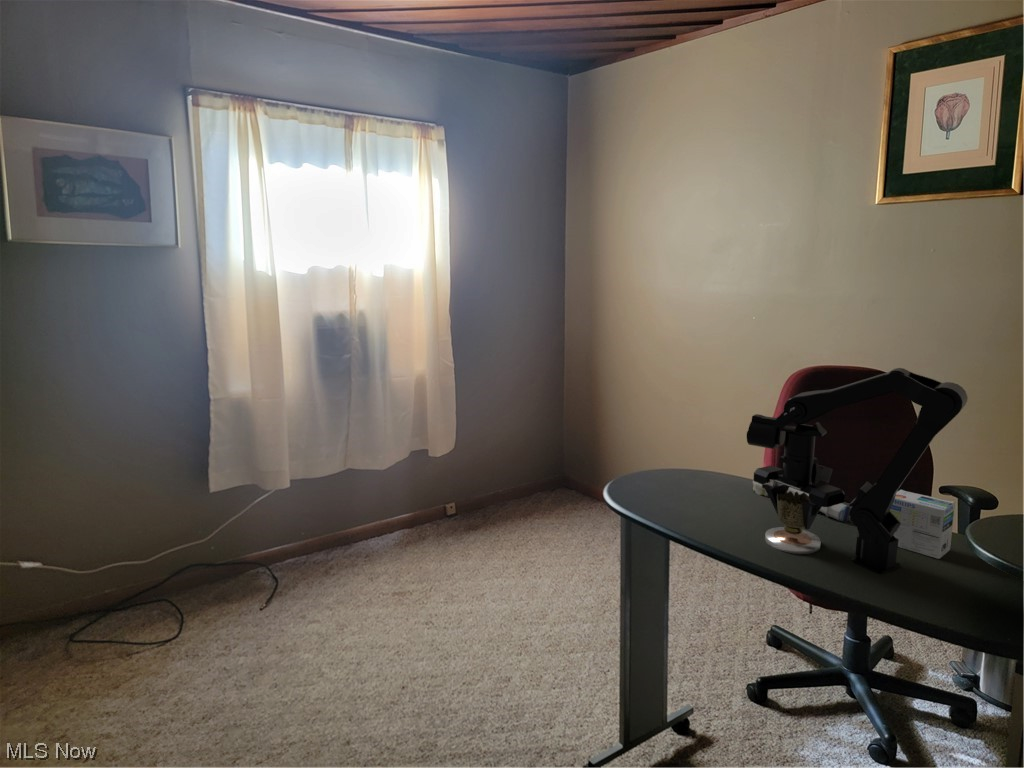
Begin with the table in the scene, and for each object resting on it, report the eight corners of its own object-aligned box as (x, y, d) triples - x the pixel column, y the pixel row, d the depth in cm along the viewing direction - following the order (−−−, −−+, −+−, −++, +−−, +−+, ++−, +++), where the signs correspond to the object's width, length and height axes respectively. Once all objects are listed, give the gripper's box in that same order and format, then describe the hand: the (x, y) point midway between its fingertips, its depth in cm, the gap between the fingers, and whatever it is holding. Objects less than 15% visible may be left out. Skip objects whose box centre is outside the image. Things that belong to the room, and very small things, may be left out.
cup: (769, 524, 146) (771, 490, 144) (803, 525, 146) (806, 490, 144) (781, 539, 139) (784, 503, 137) (817, 539, 138) (820, 503, 137)
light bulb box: (950, 550, 138) (957, 501, 136) (940, 560, 134) (946, 510, 132) (895, 534, 146) (900, 488, 144) (883, 543, 142) (888, 495, 140)
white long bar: (841, 508, 151) (751, 465, 171) (835, 534, 153) (746, 489, 173) (854, 503, 154) (764, 462, 174) (848, 529, 156) (759, 485, 176)
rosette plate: (831, 546, 140) (832, 541, 140) (795, 558, 135) (796, 552, 135) (789, 528, 150) (789, 522, 150) (753, 538, 145) (754, 532, 145)
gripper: (865, 458, 134) (858, 531, 137) (789, 437, 150) (784, 502, 153) (828, 467, 129) (822, 542, 132) (753, 444, 145) (749, 511, 148)
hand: (794, 523), depth 142 cm, fingers closed on cup, 6 cm apart
